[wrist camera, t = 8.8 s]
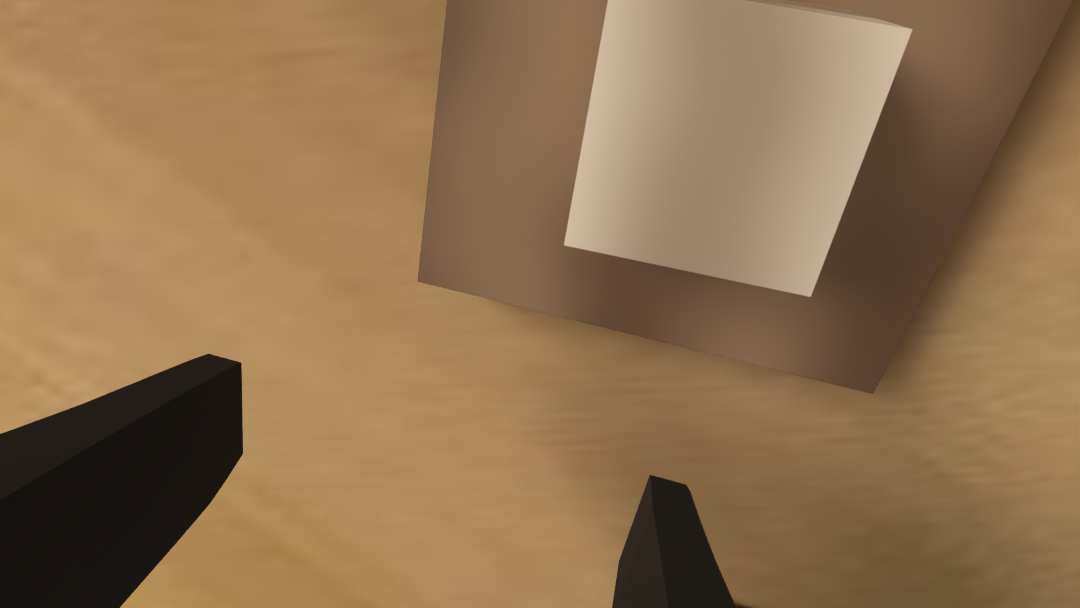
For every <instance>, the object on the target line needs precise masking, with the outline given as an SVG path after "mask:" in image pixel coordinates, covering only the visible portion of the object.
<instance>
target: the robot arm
mask: <svg viewBox="0 0 1080 608" xmlns="http://www.w3.org/2000/svg"><path fill="white" fill-rule="evenodd" d="M242 454H243V430H242V371H241V363H240V362H237V361H233V360H229V359H226V358H222V357H218V356H215V355H211V354H207V355H204V356H201V357H198V358H195V359H193V360H190V361H187V362H185V363H182V364H180V365H177V366H175V367H172V368H170V369H167V370H165V371H162V372H160V373H157V374H155V375H153V376H150V377H148V378H145V379H143V380H141V381H138V382H136V383H133V384H131V385H128V386H126V387H123V388H121V389H118V390H116V391H113V392H111V393H109V394H106V395H104V396H101V397H99V398H96V399H94V400H91V401H89V402H86V403H84V404H81V405H79V406H76V407H73V408H71V409H68V410H65V411H62V412H60V413H57V414H54V415H52V416H49V417H46V418H43V419H41V420H38V421H35V422H32V423H30V424H27V425H24V426H21V427H19V428H16V429H13V430H11V431H8V432H5V433H2V434H0V608H120V607H121V605H122V604H123V603H124V602H125V601H126V600H127V599H128V597H129V596H130V595H131V594H132V593H133V592H134V591H135V589H136V588H137V587H138V586H139V585H140V584H141V583H142V581H143V580H144V579H145V578H146V577H147V576H148V575H149V573H150V572H151V571H152V570H153V569H154V568H155V567H156V565H157V564H158V563H159V562H160V561H161V560H162V559H163V557H164V556H165V555H166V554H167V553H168V552H169V551H170V549H171V548H172V547H173V546H174V545H175V544H176V543H177V541H178V540H179V539H180V538H181V537H182V536H183V534H184V533H185V532H186V531H187V530H188V529H189V527H190V526H191V525H192V524H193V523H194V522H195V520H196V519H197V518H198V517H199V516H200V515H201V513H202V512H203V511H204V510H205V509H206V507H207V506H208V505H209V504H210V503H211V501H212V500H213V498H214V497H215V495H216V494H217V492H218V491H219V489H220V488H221V487H222V485H223V484H224V482H225V481H226V479H227V478H228V476H229V474H230V473H231V471H232V470H233V468H234V467H235V465H236V464H237V462H238V460H239V459H240V457H241V456H242ZM612 608H736V606H735V604H734V602H733V599H732V597H731V595H730V593H729V590H728V588H727V586H726V583H725V581H724V579H723V577H722V574H721V572H720V570H719V567H718V565H717V563H716V560H715V558H714V555H713V553H712V550H711V548H710V545H709V543H708V540H707V537H706V535H705V532H704V529H703V527H702V524H701V521H700V518H699V516H698V513H697V510H696V507H695V504H694V501H693V498H692V495H691V492H690V490H689V489H688V487H687V485H685V484H681V483H678V482H674V481H670V480H667V479H663V478H659V477H656V476H652V475H650V476H649V479H648V482H647V485H646V487H645V490H644V493H643V496H642V499H641V501H640V504H639V507H638V510H637V513H636V515H635V518H634V521H633V524H632V527H631V529H630V532H629V535H628V538H627V541H626V543H625V546H624V549H623V552H622V555H621V557H620V560H619V566H618V573H617V579H616V586H615V592H614V599H613V606H612Z"/></svg>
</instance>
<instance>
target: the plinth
mask: <svg viewBox="0 0 1080 608" xmlns="http://www.w3.org/2000/svg"><path fill="white" fill-rule="evenodd" d="M791 1H797V2H802V3H808V4H814V5H820V6H825V7H831V8H837V9H843V10H849V11H853V12H857V13H860V14H863V15H867V16H870V17H873V18H877V19H880V20H883V21H887V22H890V23H894V24H897V25H900V26H904V27H907V28H910V29H912V32H911V35H910V37H909V40H908V43H907V45H906V48H905V50H904V53H903V56H902V58H901V61H900V64H899V66H898V69H897V71H896V74H895V77H894V79H893V82H892V85H891V87H890V90H889V93H888V95H887V98H886V100H885V103H884V106H883V108H882V111H881V114H880V116H879V119H878V121H877V124H876V127H875V129H874V132H873V135H872V137H871V140H870V142H869V145H868V148H867V150H866V153H865V156H864V158H863V161H862V164H861V166H860V169H859V171H858V174H857V177H856V179H855V182H854V185H853V187H852V190H851V192H850V195H849V198H848V200H847V203H846V206H845V208H844V211H843V213H842V216H841V219H840V221H839V224H838V227H837V229H836V232H835V235H834V237H833V240H832V242H831V245H830V248H829V250H828V253H827V256H826V258H825V261H824V263H823V266H822V269H821V271H820V274H819V277H818V279H817V282H816V285H815V287H814V290H813V292H812V295H811V297H808V296H804V295H799V294H794V293H789V292H785V291H780V290H775V289H770V288H765V287H761V286H756V285H751V284H746V283H742V282H737V281H732V280H727V279H723V278H718V277H713V276H708V275H703V274H699V273H694V272H689V271H684V270H680V269H675V268H670V267H665V266H660V265H656V264H651V263H646V262H641V261H637V260H632V259H627V258H622V257H618V256H613V255H608V254H603V253H598V252H594V251H589V250H584V249H579V248H575V247H570V246H565V245H564V242H565V236H566V230H567V225H568V219H569V214H570V208H571V203H572V197H573V192H574V186H575V180H576V175H577V169H578V164H579V158H580V153H581V147H582V142H583V136H584V131H585V125H586V119H587V114H588V108H589V103H590V97H591V92H592V86H593V81H594V75H595V69H596V64H597V58H598V53H599V47H600V42H601V36H602V31H603V25H604V19H605V14H606V8H607V3H608V0H447V8H446V18H445V27H444V37H443V46H442V55H441V65H440V74H439V84H438V93H437V103H436V112H435V121H434V131H433V140H432V150H431V159H430V169H429V178H428V187H427V197H426V206H425V216H424V225H423V235H422V244H421V254H420V263H419V272H418V282H422V283H426V284H430V285H434V286H438V287H442V288H446V289H450V290H454V291H458V292H463V293H467V294H471V295H475V296H479V297H483V298H487V299H491V300H495V301H499V302H503V303H507V304H511V305H515V306H519V307H523V308H527V309H531V310H535V311H539V312H543V313H547V314H552V315H556V316H560V317H564V318H568V319H572V320H576V321H580V322H584V323H588V324H592V325H596V326H600V327H604V328H608V329H612V330H616V331H620V332H624V333H628V334H632V335H636V336H641V337H645V338H649V339H653V340H657V341H661V342H665V343H669V344H673V345H677V346H681V347H685V348H689V349H693V350H697V351H701V352H705V353H709V354H713V355H717V356H721V357H725V358H730V359H734V360H738V361H742V362H746V363H750V364H754V365H758V366H762V367H766V368H770V369H774V370H778V371H782V372H786V373H790V374H794V375H798V376H802V377H806V378H810V379H814V380H819V381H823V382H827V383H831V384H835V385H839V386H843V387H847V388H851V389H855V390H859V391H863V392H867V393H871V394H873V393H874V391H875V390H876V388H877V386H878V384H879V382H880V380H881V378H882V376H883V374H884V372H885V370H886V368H887V366H888V364H889V362H890V360H891V358H892V356H893V354H894V352H895V350H896V348H897V346H898V344H899V342H900V340H901V338H902V336H903V334H904V332H905V330H906V328H907V326H908V324H909V322H910V320H911V318H912V317H913V315H914V313H915V311H916V309H917V307H918V305H919V303H920V301H921V299H922V297H923V295H924V293H925V291H926V289H927V287H928V285H929V283H930V281H931V279H932V277H933V275H934V273H935V271H936V269H937V267H938V265H939V263H940V261H941V259H942V257H943V255H944V253H945V251H946V249H947V247H948V245H949V244H950V242H951V240H952V238H953V236H954V234H955V232H956V230H957V228H958V226H959V224H960V222H961V220H962V218H963V216H964V214H965V212H966V210H967V208H968V206H969V204H970V202H971V200H972V198H973V196H974V194H975V192H976V190H977V188H978V186H979V184H980V182H981V180H982V178H983V176H984V174H985V172H986V171H987V169H988V167H989V165H990V163H991V161H992V159H993V157H994V155H995V153H996V151H997V149H998V147H999V145H1000V143H1001V141H1002V139H1003V137H1004V135H1005V133H1006V131H1007V129H1008V127H1009V125H1010V123H1011V121H1012V119H1013V117H1014V115H1015V113H1016V111H1017V109H1018V107H1019V105H1020V103H1021V101H1022V99H1023V98H1024V96H1025V94H1026V92H1027V90H1028V88H1029V86H1030V84H1031V82H1032V80H1033V78H1034V76H1035V74H1036V72H1037V70H1038V68H1039V66H1040V64H1041V62H1042V60H1043V58H1044V56H1045V54H1046V52H1047V50H1048V48H1049V46H1050V44H1051V42H1052V40H1053V38H1054V36H1055V34H1056V32H1057V30H1058V28H1059V26H1060V25H1061V23H1062V21H1063V19H1064V17H1065V15H1066V13H1067V11H1068V9H1069V7H1070V5H1071V3H1072V1H1073V0H791Z"/></svg>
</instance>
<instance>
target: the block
mask: <svg viewBox="0 0 1080 608" xmlns="http://www.w3.org/2000/svg"><path fill="white" fill-rule="evenodd" d="M911 32H912V29H910V28H907V27H904V26H900V25H897V24H894V23H890V22H887V21H883V20H880V19H877V18H873V17H870V16H867V15H863V14H860V13H857V12H853V11H849V10H843V9H837V8H831V7H825V6H820V5H814V4H808V3H802V2H797V1H791V0H608V3H607V8H606V14H605V19H604V25H603V31H602V36H601V42H600V47H599V53H598V58H597V64H596V69H595V75H594V81H593V86H592V92H591V97H590V103H589V108H588V114H587V119H586V125H585V131H584V136H583V142H582V147H581V153H580V158H579V164H578V169H577V175H576V180H575V186H574V192H573V197H572V203H571V208H570V214H569V219H568V225H567V230H566V236H565V242H564V245H565V246H570V247H575V248H579V249H584V250H589V251H594V252H598V253H603V254H608V255H613V256H618V257H622V258H627V259H632V260H637V261H641V262H646V263H651V264H656V265H660V266H665V267H670V268H675V269H680V270H684V271H689V272H694V273H699V274H703V275H708V276H713V277H718V278H723V279H727V280H732V281H737V282H742V283H746V284H751V285H756V286H761V287H765V288H770V289H775V290H780V291H785V292H789V293H794V294H799V295H804V296H808V297H811V295H812V292H813V290H814V287H815V285H816V282H817V279H818V277H819V274H820V271H821V269H822V266H823V263H824V261H825V258H826V256H827V253H828V250H829V248H830V245H831V242H832V240H833V237H834V235H835V232H836V229H837V227H838V224H839V221H840V219H841V216H842V213H843V211H844V208H845V206H846V203H847V200H848V198H849V195H850V192H851V190H852V187H853V185H854V182H855V179H856V177H857V174H858V171H859V169H860V166H861V164H862V161H863V158H864V156H865V153H866V150H867V148H868V145H869V142H870V140H871V137H872V135H873V132H874V129H875V127H876V124H877V121H878V119H879V116H880V114H881V111H882V108H883V106H884V103H885V100H886V98H887V95H888V93H889V90H890V87H891V85H892V82H893V79H894V77H895V74H896V71H897V69H898V66H899V64H900V61H901V58H902V56H903V53H904V50H905V48H906V45H907V43H908V40H909V37H910V35H911Z"/></svg>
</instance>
